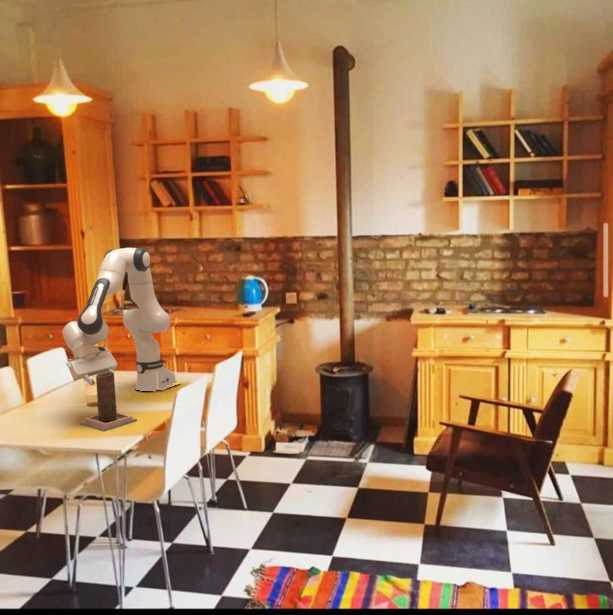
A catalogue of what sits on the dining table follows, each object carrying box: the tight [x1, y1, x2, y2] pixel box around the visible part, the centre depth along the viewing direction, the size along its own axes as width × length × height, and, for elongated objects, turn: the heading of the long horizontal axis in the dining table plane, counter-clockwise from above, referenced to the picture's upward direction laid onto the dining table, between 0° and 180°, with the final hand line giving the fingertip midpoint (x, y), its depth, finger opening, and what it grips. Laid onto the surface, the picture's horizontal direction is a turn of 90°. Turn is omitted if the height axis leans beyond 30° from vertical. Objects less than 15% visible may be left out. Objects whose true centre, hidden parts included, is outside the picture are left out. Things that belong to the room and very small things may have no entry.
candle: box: [95, 371, 118, 421], centre depth 281 cm, size 8×7×20 cm
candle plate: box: [80, 411, 138, 432], centre depth 283 cm, size 16×16×2 cm
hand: (102, 381), depth 283 cm, fingers open, 8 cm apart
